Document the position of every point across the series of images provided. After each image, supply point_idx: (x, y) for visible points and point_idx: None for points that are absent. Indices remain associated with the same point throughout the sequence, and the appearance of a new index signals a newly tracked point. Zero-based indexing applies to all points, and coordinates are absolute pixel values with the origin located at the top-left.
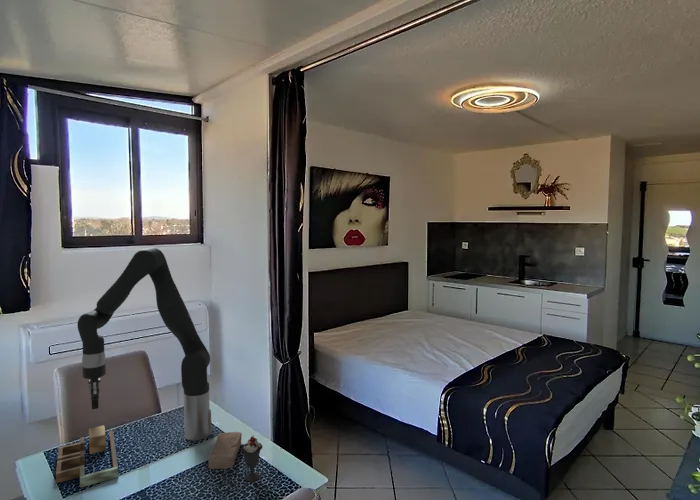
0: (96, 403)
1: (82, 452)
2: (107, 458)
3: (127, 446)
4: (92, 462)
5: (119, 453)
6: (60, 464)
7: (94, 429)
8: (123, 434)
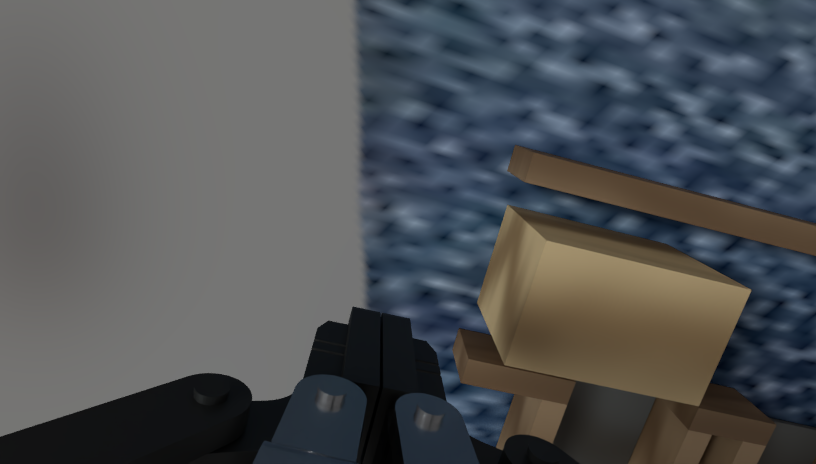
0: (441, 390)
1: (714, 422)
2: (782, 267)
3: (743, 107)
4: (747, 348)
5: (790, 187)
6: None
7: (565, 333)
8: (520, 58)
